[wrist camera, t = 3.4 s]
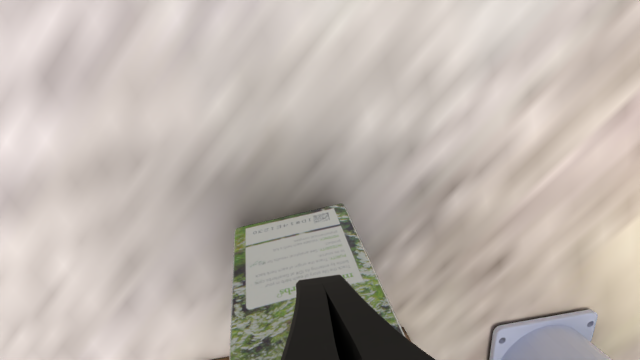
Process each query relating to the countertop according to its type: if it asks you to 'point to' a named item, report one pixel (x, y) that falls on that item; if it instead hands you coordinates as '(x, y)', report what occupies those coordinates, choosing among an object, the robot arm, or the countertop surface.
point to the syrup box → (293, 276)
